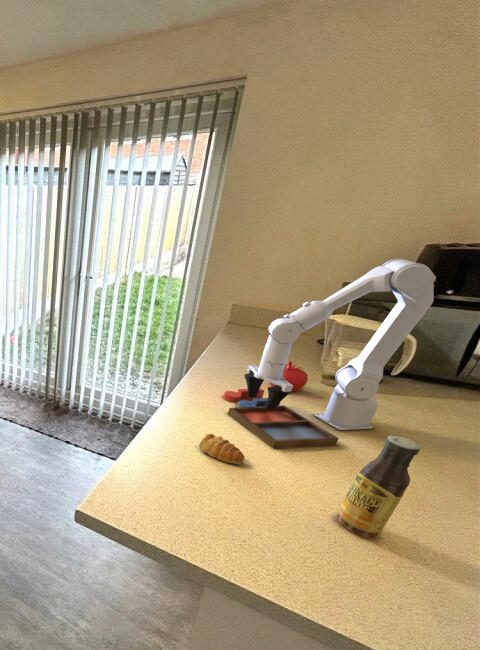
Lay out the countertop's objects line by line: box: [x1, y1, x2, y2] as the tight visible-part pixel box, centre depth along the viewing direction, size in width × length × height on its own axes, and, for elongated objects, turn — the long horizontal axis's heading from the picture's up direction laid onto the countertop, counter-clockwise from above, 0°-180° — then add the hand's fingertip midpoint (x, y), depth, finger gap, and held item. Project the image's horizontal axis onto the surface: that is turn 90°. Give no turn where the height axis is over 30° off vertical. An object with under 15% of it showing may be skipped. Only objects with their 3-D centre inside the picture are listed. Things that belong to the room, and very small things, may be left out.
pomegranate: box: [269, 360, 309, 392], centre depth 128 cm, size 10×10×9 cm
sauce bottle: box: [336, 435, 421, 538], centre depth 71 cm, size 7×6×20 cm
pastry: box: [198, 433, 246, 465], centre depth 96 cm, size 9×7×4 cm
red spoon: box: [223, 387, 265, 403], centre depth 123 cm, size 12×4×3 cm, turn 93°
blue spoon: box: [236, 397, 281, 407], centre depth 117 cm, size 12×4×3 cm, turn 93°
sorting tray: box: [227, 404, 340, 449], centre depth 107 cm, size 17×17×2 cm
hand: (260, 402), depth 116 cm, fingers open, 7 cm apart
